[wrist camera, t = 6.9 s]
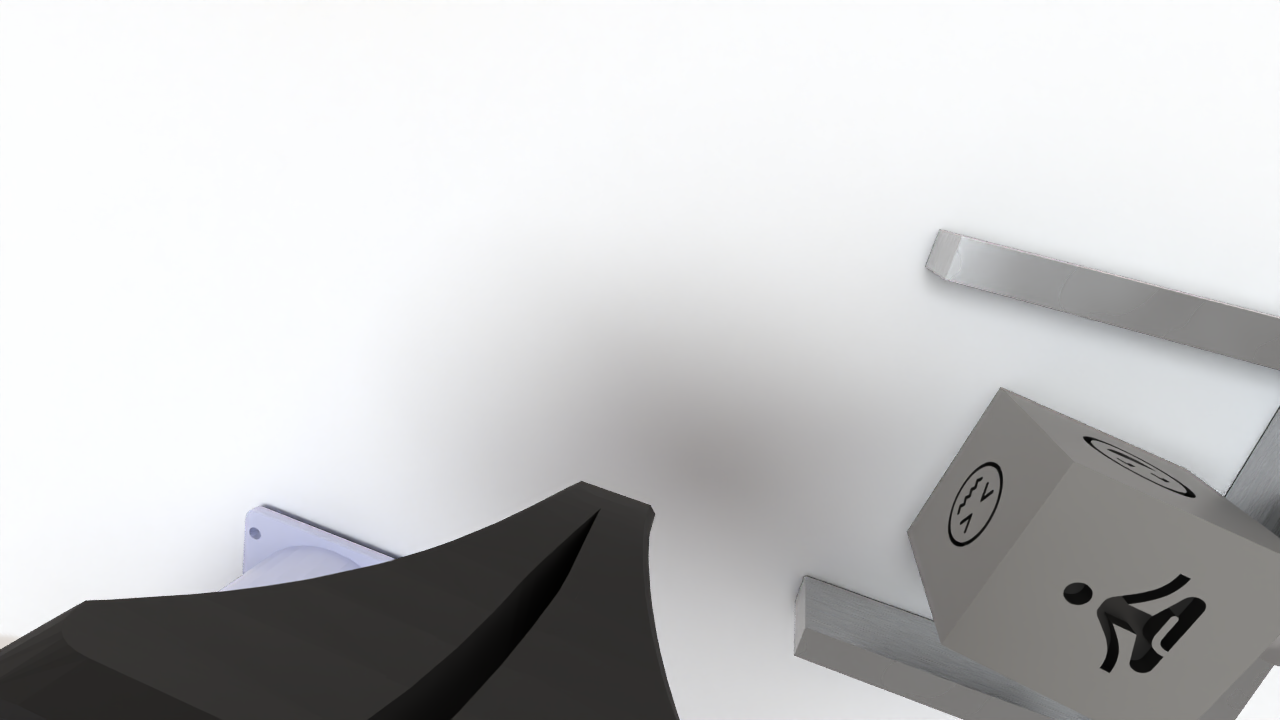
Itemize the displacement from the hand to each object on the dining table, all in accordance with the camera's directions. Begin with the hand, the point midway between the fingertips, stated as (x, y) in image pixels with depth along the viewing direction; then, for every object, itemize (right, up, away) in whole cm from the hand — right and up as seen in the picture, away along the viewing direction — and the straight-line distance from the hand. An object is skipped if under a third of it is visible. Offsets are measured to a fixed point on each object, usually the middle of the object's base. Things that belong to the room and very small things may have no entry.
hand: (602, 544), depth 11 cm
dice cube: (+12, -1, +7) cm, 14 cm away
